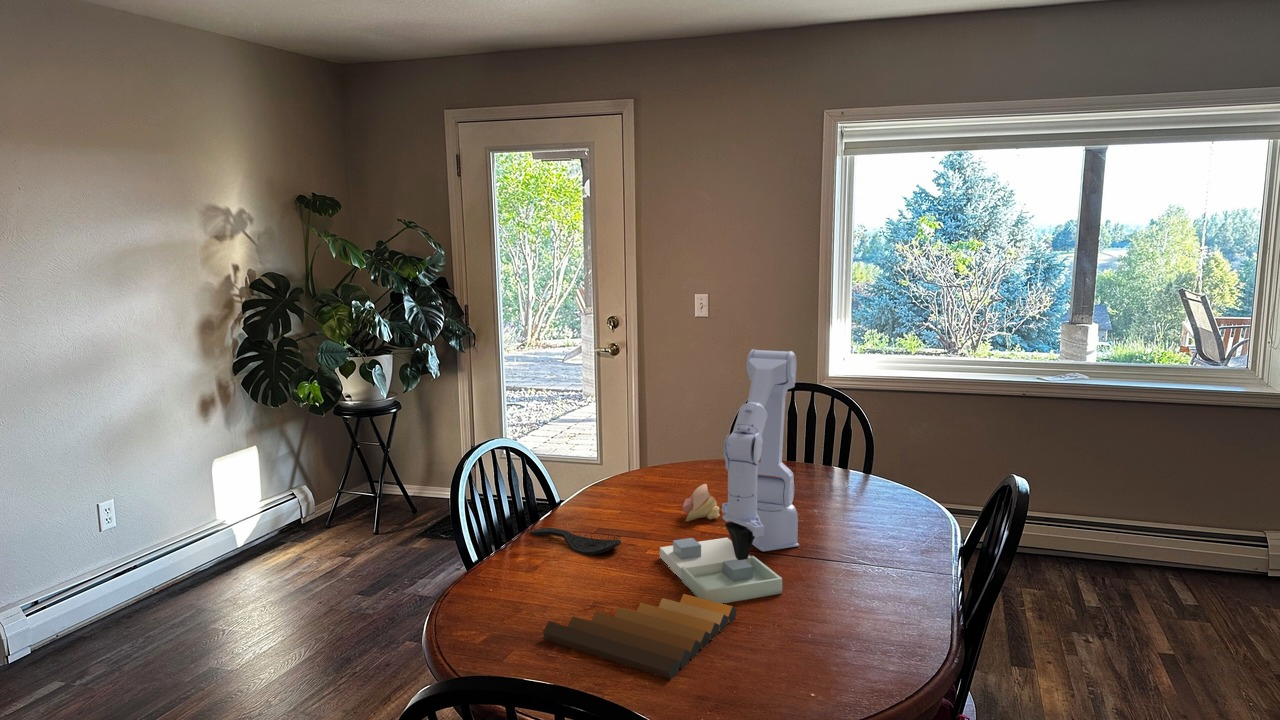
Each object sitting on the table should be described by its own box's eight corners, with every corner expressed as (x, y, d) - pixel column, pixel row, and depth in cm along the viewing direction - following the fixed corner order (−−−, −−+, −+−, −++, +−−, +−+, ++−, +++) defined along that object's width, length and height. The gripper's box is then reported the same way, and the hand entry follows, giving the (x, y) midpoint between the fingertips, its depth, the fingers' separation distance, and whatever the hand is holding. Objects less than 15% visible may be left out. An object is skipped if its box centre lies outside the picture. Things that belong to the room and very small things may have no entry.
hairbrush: (542, 517, 192) (628, 532, 178) (544, 532, 193) (629, 548, 179) (519, 527, 185) (606, 544, 171) (520, 543, 186) (608, 560, 172)
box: (753, 569, 167) (753, 555, 166) (782, 593, 156) (782, 578, 155) (681, 581, 161) (681, 567, 161) (705, 606, 150) (705, 591, 150)
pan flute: (543, 643, 138) (669, 684, 125) (542, 625, 138) (669, 664, 125) (621, 589, 159) (736, 619, 146) (621, 573, 159) (736, 602, 146)
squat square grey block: (742, 569, 165) (742, 558, 165) (752, 578, 161) (753, 566, 161) (722, 573, 164) (722, 561, 163) (732, 581, 160) (733, 569, 159)
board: (727, 548, 178) (727, 537, 178) (752, 568, 167) (752, 557, 167) (659, 558, 173) (659, 547, 173) (681, 580, 162) (681, 568, 161)
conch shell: (725, 516, 200) (730, 499, 193) (698, 542, 196) (702, 525, 188) (698, 491, 204) (702, 474, 196) (671, 516, 200) (674, 499, 192)
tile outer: (692, 548, 172) (692, 537, 171) (701, 556, 167) (701, 545, 167) (673, 551, 170) (673, 540, 170) (681, 559, 166) (681, 548, 166)
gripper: (708, 484, 163) (708, 547, 165) (740, 507, 150) (740, 575, 152) (739, 480, 166) (739, 543, 168) (774, 502, 152) (773, 570, 154)
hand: (741, 558), depth 160 cm, fingers closed
